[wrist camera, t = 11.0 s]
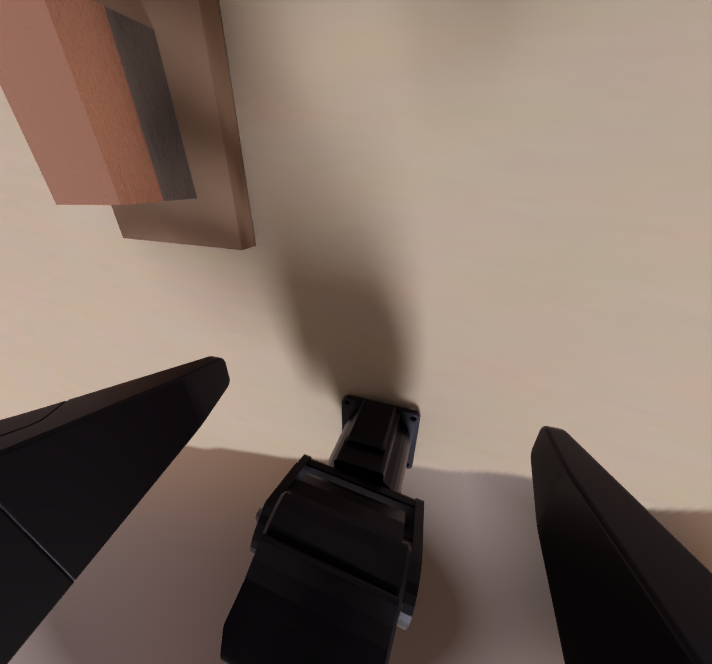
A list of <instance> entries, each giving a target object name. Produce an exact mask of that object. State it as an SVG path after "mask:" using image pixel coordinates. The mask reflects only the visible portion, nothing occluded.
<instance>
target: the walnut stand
mask: <svg viewBox="0 0 712 664" xmlns="http://www.w3.org/2000/svg"><path fill="white" fill-rule="evenodd" d="M93 1H95V2H97V3H99V4H102V5H104V6H106V7H108V8H110V9H112V10H114V11H116V12H119V13H121V14H123V15H125V16H127V17H129V18H131V19H133V20H135V21H138V22H140V23H142V24H144V25H146V26H148V27H150V28H152V29H154V31H155V35H156V39H157V43H158V47H159V51H160V55H161V59H162V63H163V67H164V71H165V74H166V78H167V82H168V86H169V90H170V94H171V98H172V102H173V106H174V110H175V114H176V118H177V121H178V125H179V129H180V133H181V137H182V141H183V145H184V149H185V153H186V157H187V161H188V164H189V168H190V172H191V176H192V180H193V184H194V188H195V192H196V196H197V198H196V199H184V200H173V201H161V202H149V203H137V204H125V205H111V206H112V208H113V211H114V214H115V217H116V219H117V222H118V225H119V227H120V230H121V233H122V236H123V238H129V239H139V240H149V241H159V242H169V243H178V244H188V245H198V246H208V247H218V248H228V249H237V250H244V249H247V248H250V247H253V246H256V245H255V238H254V232H253V225H252V219H251V212H250V205H249V199H248V192H247V186H246V179H245V172H244V166H243V159H242V153H241V146H240V139H239V133H238V126H237V120H236V113H235V106H234V100H233V93H232V86H231V80H230V73H229V67H228V60H227V53H226V47H225V40H224V34H223V27H222V20H221V14H220V7H219V1H218V0H93Z"/></svg>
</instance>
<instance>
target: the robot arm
mask: <svg viewBox="0 0 712 664" xmlns="http://www.w3.org/2000/svg"><path fill="white" fill-rule="evenodd" d="M229 382H230V378H229V374H228V371H227V367H226V363H225V361H224V360H223V359H222V358H219V357H214V356H210V357H206V358H203V359H200V360H196V361H193V362H190V363H187V364H183V365H180V366H177V367H174V368H170V369H167V370H164V371H161V372H157V373H154V374H151V375H148V376H144V377H141V378H138V379H135V380H131V381H128V382H125V383H122V384H118V385H115V386H112V387H109V388H106V389H102V390H99V391H96V392H93V393H89V394H86V395H83V396H80V397H76V398H73V399H70V400H68V401H63V402H60V403H57V404H53V405H50V406H47V407H44V408H40V409H37V410H34V411H30V412H27V413H23V414H20V415H17V416H13V417H9V418H6V419H2V420H0V664H8V663H9V661H10V660H11V659H12V658H13V656H14V655H15V654H16V653H17V651H18V650H19V649H20V648H21V647H22V645H23V644H24V643H25V642H26V640H27V639H28V638H29V637H30V636H31V634H32V633H33V632H34V631H35V629H36V628H37V627H38V626H39V625H40V623H41V622H42V621H43V620H44V618H45V617H46V616H47V615H48V613H49V612H50V611H51V610H52V609H53V607H54V606H55V605H56V604H57V602H58V601H59V600H60V599H61V598H62V596H63V595H64V594H65V593H66V591H67V590H68V589H69V588H70V587H71V585H72V584H73V583H74V580H76V579H77V577H78V576H79V575H80V574H81V572H82V571H83V570H84V569H85V568H86V566H87V565H88V564H89V563H90V562H91V560H92V559H93V558H94V557H95V555H96V554H97V553H98V552H99V551H100V549H101V548H102V547H103V546H104V544H105V543H106V542H107V541H108V540H109V538H110V537H111V536H112V535H113V533H114V532H115V531H116V530H117V529H118V527H119V526H120V525H121V524H122V522H123V521H124V520H125V519H126V518H127V516H128V515H129V514H130V513H131V511H132V510H133V509H134V508H135V507H136V505H137V504H138V503H139V502H140V500H141V499H142V498H143V497H144V495H145V494H146V493H147V492H148V490H149V489H150V488H151V487H152V486H153V484H154V483H155V482H156V481H157V480H158V478H159V477H160V476H161V475H162V473H163V472H164V471H165V470H166V468H167V467H168V466H169V465H170V464H171V462H172V461H173V460H174V459H175V458H176V456H177V455H178V454H179V453H180V451H181V450H182V449H183V448H184V446H185V445H186V444H187V443H188V442H189V440H190V439H191V438H192V437H193V435H194V434H195V433H196V432H197V430H198V429H199V428H200V427H201V425H202V424H203V422H204V421H205V420H206V418H207V417H208V415H209V414H210V412H211V411H212V409H213V408H214V406H215V405H216V403H217V402H218V401H219V399H220V398H221V396H222V395H223V393H224V392H225V390H226V389H227V387H228V385H229ZM348 401H349V402H348ZM412 416H414V417H416V418H413V417H412ZM419 422H420V414H419V413H418V412H417V411H414V410H410V409H406V408H401V407H397V406H393V405H389V404H384V403H380V402H376V401H372V400H367V399H363V398H359V397H355V396H350V395H346V396H344V398H343V400H342V433H341V435H340V437H339V439H338V441H337V443H336V446H335V448H334V450H333V452H332V454H331V456H330V458H329V460H328V462H327V464H324V463H322V462H319V461H317V460H314V459H312V458H311V457H310V456H308V455H305V454H304V455H303V457H302V458H301V459H300V460H299V462H298V463H296V464H295V465H294V466H293V468H292V469H291V470H290V471H289V473H288V474H287V475H286V476H285V478H284V479H283V480H282V481H281V483H280V484H279V485H278V487H277V488H276V489H275V490H274V492H273V493H272V494H271V496H270V497H269V498H268V499H267V500H266V502H265V504H264V505H263V506H262V507H261V508H260V509H259V510H258V512H257V514H256V522H257V526H256V528H255V531H254V535H253V538H252V542H251V548H250V552H251V553H252V555H254V557H253V559H252V562H251V564H250V567H249V570H248V572H247V575H246V578H245V580H244V582H243V584H242V587H241V589H240V591H239V593H238V595H237V598H236V600H235V602H234V604H233V606H232V609H231V610H230V613H229V615H228V617H227V619H226V621H225V624H224V627H223V636H222V645H221V654H220V655H221V660H222V661H223V662H225V663H227V664H388V662H389V657H390V653H391V648H392V644H393V640H394V635H395V631H396V626H398V627H400V628H402V629H404V630H406V629H407V628H408V626H409V624H410V621H411V618H412V614H413V611H414V607H415V602H416V598H417V592H418V587H419V581H420V574H421V565H422V547H423V519H424V501H422V500H420V499H417V498H416V499H414V498H411V497H408V496H406V495H403V494H401V490H402V485H403V480H404V474H405V470H406V468H411V467H412V464H413V458H414V452H415V446H416V440H417V434H418V428H419ZM531 467H532V478H533V489H534V500H535V512H536V522H537V529H538V534H539V539H540V545H541V549H542V554H543V559H544V564H545V569H546V574H547V579H548V584H549V588H550V593H551V598H552V603H553V608H554V613H555V617H556V623H557V627H558V632H559V637H560V642H561V647H562V652H563V657H564V661H565V664H712V572H710V570H709V569H708V568H706V566H705V565H703V564H702V563H701V562H700V561H699V560H698V559H697V558H696V557H695V556H694V555H693V554H692V553H691V552H690V551H689V550H688V549H687V548H686V547H685V546H684V545H683V544H682V543H681V542H680V541H678V539H677V538H676V537H675V536H673V535H672V534H671V533H670V532H669V531H668V530H667V529H666V528H665V527H664V526H663V525H662V524H661V523H660V522H659V521H658V520H657V519H656V518H655V517H654V516H653V515H652V514H651V513H650V512H649V511H648V510H647V509H646V508H645V507H644V506H642V505H641V504H640V503H639V502H638V501H637V500H636V499H635V498H634V497H633V496H632V495H631V494H630V493H629V492H628V491H627V490H626V489H625V488H624V487H623V486H622V485H621V484H620V483H619V482H618V481H617V480H616V479H615V478H614V477H612V476H611V475H610V474H609V473H608V472H607V471H606V470H605V469H604V468H603V467H602V466H601V465H600V464H599V463H598V462H597V461H596V460H595V459H594V458H593V457H592V456H591V455H590V454H589V453H588V452H587V451H586V450H585V449H584V448H583V447H581V446H580V445H579V444H578V443H577V442H576V441H575V440H574V439H573V438H572V437H571V436H570V435H569V434H568V433H567V432H566V431H564V430H562V429H559V428H554V427H549V426H543V427H542V428H541V429H540V431H539V434H538V436H537V439H536V441H535V443H534V446H533V448H532V452H531Z"/></svg>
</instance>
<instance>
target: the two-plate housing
mask: <svg viewBox="0 0 712 664" xmlns="http://www.w3.org/2000/svg"><path fill="white" fill-rule="evenodd" d="M0 85H1V87H2V90H3V92H4V94H5V96H6V98H7V100H8V102H9V104H10V107H11V109H12V111H13V113H14V115H15V117H16V119H17V122H18V124H19V126H20V128H21V130H22V132H23V134H24V136H25V139H26V141H27V143H28V145H29V147H30V149H31V151H32V153H33V156H34V158H35V160H36V162H37V164H38V166H39V168H40V171H41V173H42V175H43V177H44V179H45V181H46V183H47V185H48V188H49V190H50V192H51V194H52V196H53V198H54V200H55V202H56V205H125V204H137V203H149V202H161V201H173V200H184V199H196V198H197V196H196V192H195V188H194V184H193V180H192V176H191V172H190V168H189V164H188V161H187V157H186V153H185V149H184V145H183V141H182V137H181V133H180V129H179V125H178V121H177V118H176V114H175V110H174V106H173V102H172V98H171V94H170V90H169V86H168V82H167V78H166V74H165V71H164V67H163V63H162V59H161V55H160V51H159V47H158V43H157V39H156V35H155V31H154V29H152V28H150V27H148V26H146V25H144V24H142V23H140V22H138V21H135V20H133V19H131V18H129V17H127V16H125V15H123V14H121V13H119V12H116V11H114V10H112V9H110V8H108V7H106V6H104V5H102V4H99V3H97V2H95V1H93V0H0Z"/></svg>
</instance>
